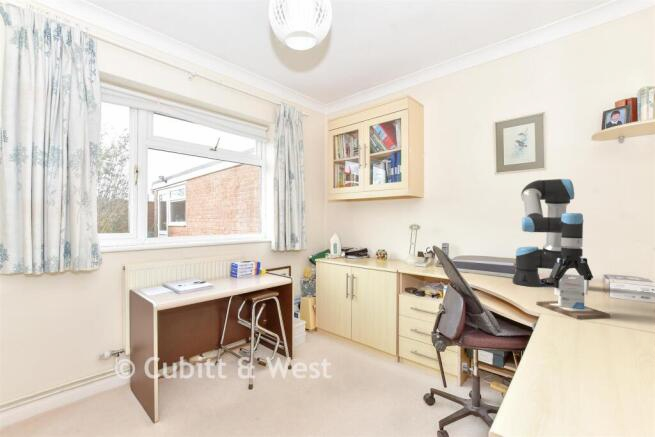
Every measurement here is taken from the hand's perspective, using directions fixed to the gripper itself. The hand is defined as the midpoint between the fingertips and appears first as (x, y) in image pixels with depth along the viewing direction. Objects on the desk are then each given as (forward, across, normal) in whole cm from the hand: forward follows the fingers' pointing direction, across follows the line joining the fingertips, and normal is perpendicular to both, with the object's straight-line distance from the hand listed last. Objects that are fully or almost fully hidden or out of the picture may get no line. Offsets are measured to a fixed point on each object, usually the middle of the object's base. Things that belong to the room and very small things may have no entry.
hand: (570, 294), depth 135 cm
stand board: (+7, 0, 0) cm, 7 cm away
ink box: (+6, 0, 0) cm, 6 cm away
